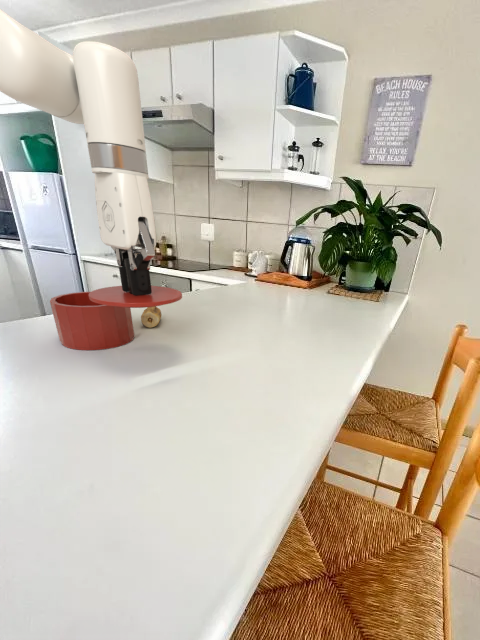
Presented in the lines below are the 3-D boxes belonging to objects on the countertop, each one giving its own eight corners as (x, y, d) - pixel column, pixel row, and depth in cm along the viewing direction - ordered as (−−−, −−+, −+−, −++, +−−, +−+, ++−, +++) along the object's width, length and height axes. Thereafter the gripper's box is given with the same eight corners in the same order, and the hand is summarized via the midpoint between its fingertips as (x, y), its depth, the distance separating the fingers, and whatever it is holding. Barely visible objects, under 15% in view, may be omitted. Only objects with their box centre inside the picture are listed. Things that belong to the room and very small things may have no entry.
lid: (75, 296, 55) (66, 254, 52) (156, 288, 65) (152, 253, 62) (113, 315, 47) (104, 267, 44) (199, 303, 57) (196, 263, 54)
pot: (51, 336, 68) (40, 295, 64) (117, 325, 77) (111, 289, 73) (75, 355, 60) (64, 310, 56) (146, 341, 69) (140, 301, 66)
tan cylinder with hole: (145, 318, 83) (143, 303, 82) (162, 318, 85) (161, 303, 83) (141, 328, 76) (139, 312, 75) (160, 328, 77) (158, 312, 76)
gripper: (70, 162, 49) (94, 286, 57) (118, 156, 40) (138, 305, 48) (120, 170, 54) (136, 283, 62) (173, 166, 45) (183, 299, 53)
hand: (137, 291), depth 55 cm, fingers closed on lid, 2 cm apart
